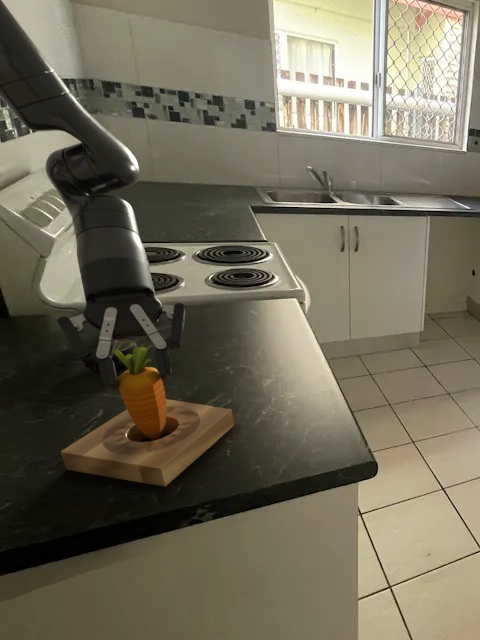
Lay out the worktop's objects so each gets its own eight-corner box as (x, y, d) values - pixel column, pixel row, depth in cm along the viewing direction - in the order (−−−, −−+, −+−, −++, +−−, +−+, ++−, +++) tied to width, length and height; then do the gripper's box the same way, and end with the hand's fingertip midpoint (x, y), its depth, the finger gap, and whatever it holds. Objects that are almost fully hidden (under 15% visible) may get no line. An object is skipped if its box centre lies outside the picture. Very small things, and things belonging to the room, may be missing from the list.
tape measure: (104, 356, 89) (98, 338, 87) (147, 354, 91) (142, 337, 89) (87, 374, 83) (81, 355, 81) (133, 372, 85) (128, 353, 83)
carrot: (126, 444, 67) (96, 350, 60) (161, 425, 71) (137, 335, 64) (150, 455, 65) (123, 359, 59) (185, 435, 69) (162, 344, 63)
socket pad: (66, 470, 62) (59, 451, 61) (151, 412, 75) (147, 396, 74) (165, 487, 61) (160, 468, 60) (234, 425, 74) (231, 409, 73)
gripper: (36, 259, 58) (59, 388, 55) (175, 250, 67) (202, 362, 63) (53, 286, 64) (75, 404, 61) (178, 275, 73) (204, 378, 69)
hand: (140, 382), depth 62 cm, fingers closed on carrot, 4 cm apart
